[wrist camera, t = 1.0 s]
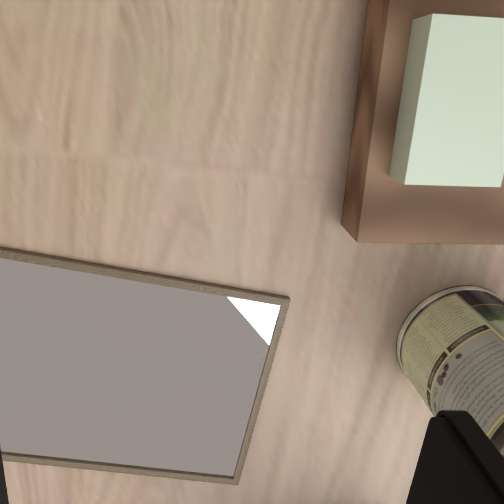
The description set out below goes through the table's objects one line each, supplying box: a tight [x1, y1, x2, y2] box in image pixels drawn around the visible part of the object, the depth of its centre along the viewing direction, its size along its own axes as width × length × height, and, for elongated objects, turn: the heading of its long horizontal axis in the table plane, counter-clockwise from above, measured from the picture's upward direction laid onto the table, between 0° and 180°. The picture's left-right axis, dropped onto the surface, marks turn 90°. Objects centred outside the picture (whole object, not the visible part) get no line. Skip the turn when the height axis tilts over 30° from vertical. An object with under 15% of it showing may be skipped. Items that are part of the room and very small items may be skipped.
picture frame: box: [0, 247, 290, 485], centre depth 37 cm, size 19×1×28 cm
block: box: [389, 14, 504, 187], centre depth 27 cm, size 9×6×2 cm, turn 177°
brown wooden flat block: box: [341, 0, 504, 245], centre depth 30 cm, size 18×12×4 cm, turn 177°
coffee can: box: [397, 286, 504, 457], centre depth 32 cm, size 10×10×14 cm
